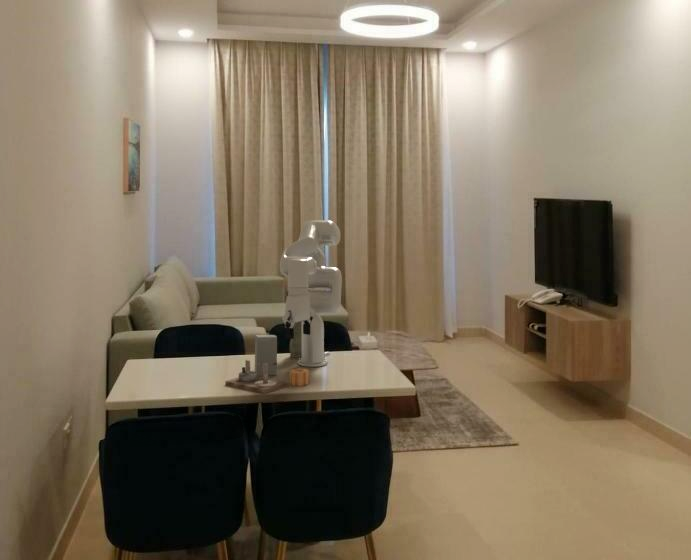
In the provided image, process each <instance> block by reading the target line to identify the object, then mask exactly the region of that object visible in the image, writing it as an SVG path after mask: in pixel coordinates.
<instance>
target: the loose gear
mask: <svg viewBox="0 0 691 560" xmlns="http://www.w3.org/2000/svg"><path fill="white" fill-rule="evenodd" d="M309 384H310V369H307V368H300V367H298V368H292V369H290V370H289V385H291V386H294V387H295V386H298V387H302V386H308V385H309Z"/></svg>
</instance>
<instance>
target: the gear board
mask: <svg viewBox="0 0 691 560" xmlns="http://www.w3.org/2000/svg"><path fill="white" fill-rule="evenodd" d="M244 361H245V366H242V367H241V372H238V377H235V378H232V379H228V380H225V383H224V384H225V386H229V387H233V388H236V389H237V388H238V389H241V390H246V391H250V392H255V393H259V394H268V393H271V392H274V391H277V390H280V389H283V388H286V387H287V388H288V387H289V381H285V380H279V379H274V378H269V376H268V364H267V363H263V376H257V372H255V370H253V371H252V370H251V360H250V359H245V360H244Z"/></svg>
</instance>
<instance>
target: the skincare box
mask: <svg viewBox="0 0 691 560" xmlns="http://www.w3.org/2000/svg"><path fill="white" fill-rule="evenodd" d="M254 339H255V340H254V372H257V376H260V377H263V363H267V364H268V377H269V376H278V375H277V373H278V372H277V371H278V365H277V363H278V336H277V335H275V334H254Z"/></svg>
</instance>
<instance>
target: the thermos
mask: <svg viewBox="0 0 691 560" xmlns="http://www.w3.org/2000/svg"><path fill="white" fill-rule="evenodd" d="M309 290H310V288H308V291H309ZM287 296H288V290H287V291H286V292H285V300H286V299H287ZM293 328H294V338H293V339H290V341H289V352H290V353H289V354H290V355H289V358H290V357H291V359H293V358H298V359H297V360H300V359H299V358H302V333H301V322H296V323H294V325H293Z"/></svg>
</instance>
